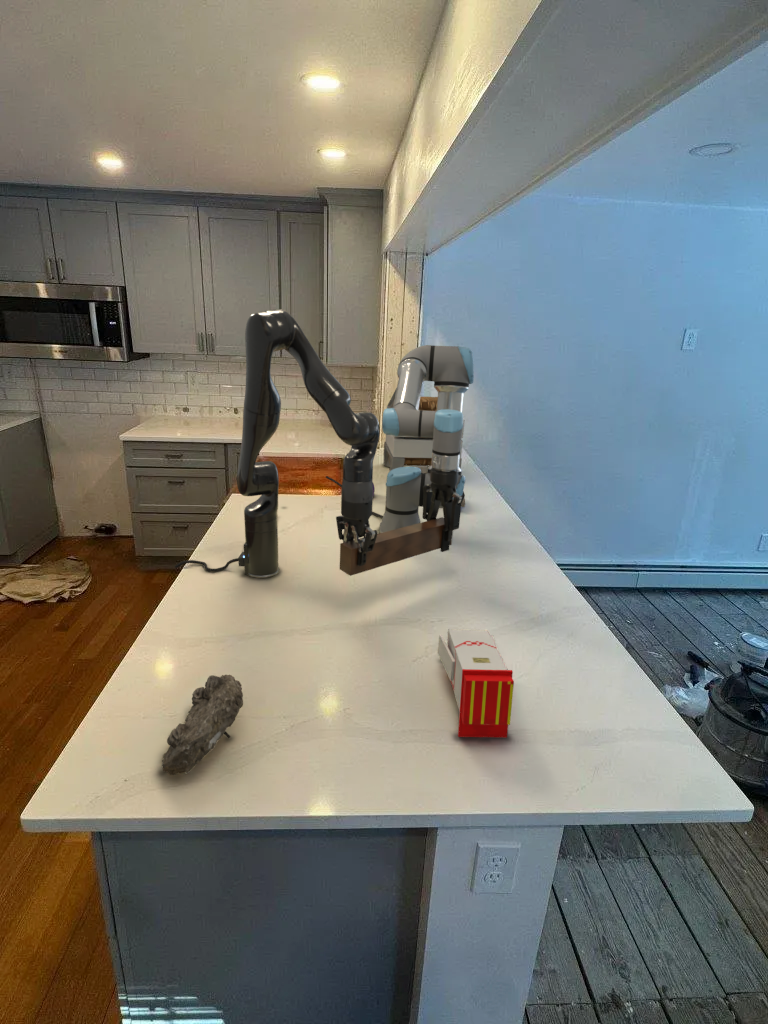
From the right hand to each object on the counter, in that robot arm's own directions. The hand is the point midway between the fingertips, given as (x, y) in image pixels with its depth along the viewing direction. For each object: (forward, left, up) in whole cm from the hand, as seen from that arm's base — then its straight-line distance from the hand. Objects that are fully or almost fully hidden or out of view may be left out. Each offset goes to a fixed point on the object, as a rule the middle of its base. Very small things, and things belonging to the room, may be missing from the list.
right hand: (438, 547), depth 161 cm
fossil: (+19, -78, -11) cm, 81 cm away
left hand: (0, -30, +4) cm, 30 cm away
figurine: (-73, +32, -11) cm, 81 cm away
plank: (0, -15, +1) cm, 15 cm away
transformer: (-87, +78, -11) cm, 118 cm away
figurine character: (-43, +55, -11) cm, 71 cm away
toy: (+39, -30, -11) cm, 51 cm away
